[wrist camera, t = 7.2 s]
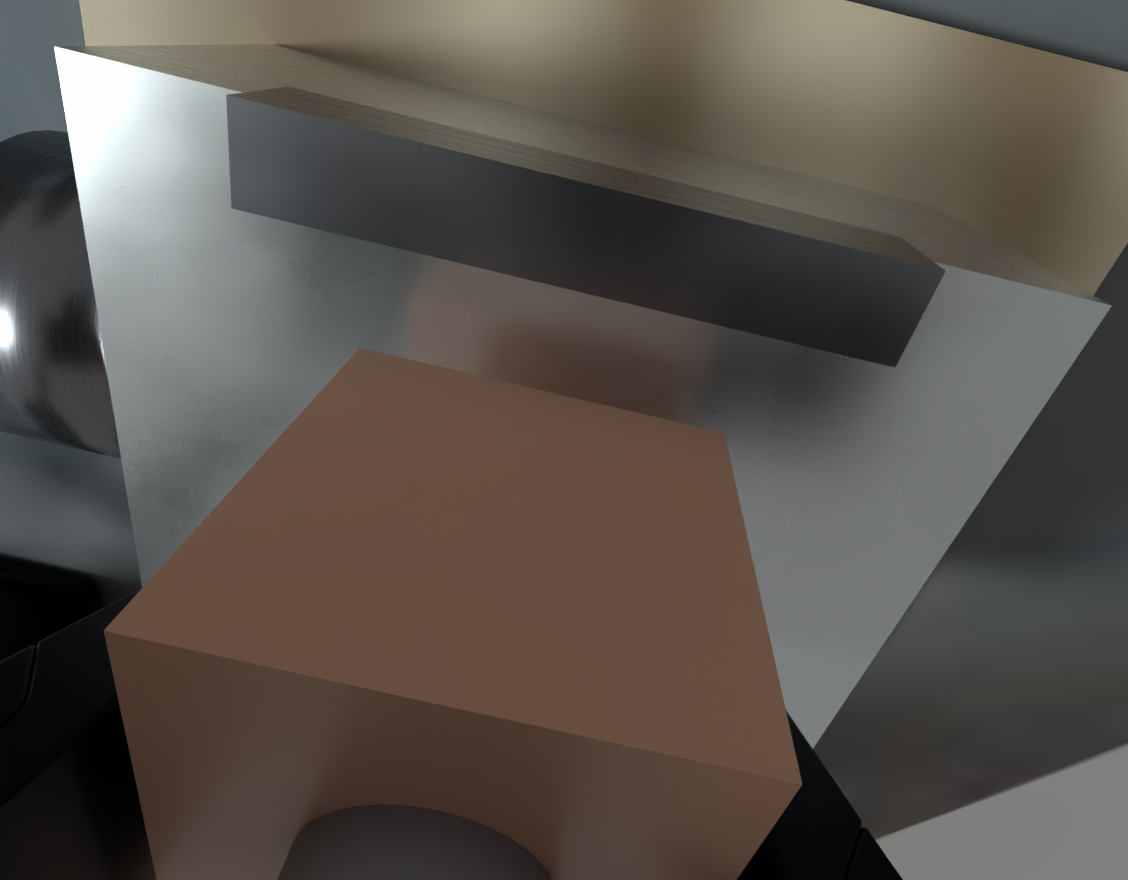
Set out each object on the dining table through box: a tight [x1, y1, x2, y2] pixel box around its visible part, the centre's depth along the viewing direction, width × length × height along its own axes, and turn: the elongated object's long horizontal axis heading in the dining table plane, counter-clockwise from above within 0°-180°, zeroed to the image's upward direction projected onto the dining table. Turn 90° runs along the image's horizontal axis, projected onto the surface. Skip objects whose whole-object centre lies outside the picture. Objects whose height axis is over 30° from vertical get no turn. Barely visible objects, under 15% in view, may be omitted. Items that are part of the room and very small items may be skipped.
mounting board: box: [79, 0, 1128, 295], centre depth 17 cm, size 22×16×1 cm
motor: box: [0, 44, 1112, 749], centre depth 13 cm, size 17×10×8 cm, turn 78°
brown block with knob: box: [104, 348, 802, 880], centre depth 7 cm, size 5×5×7 cm
